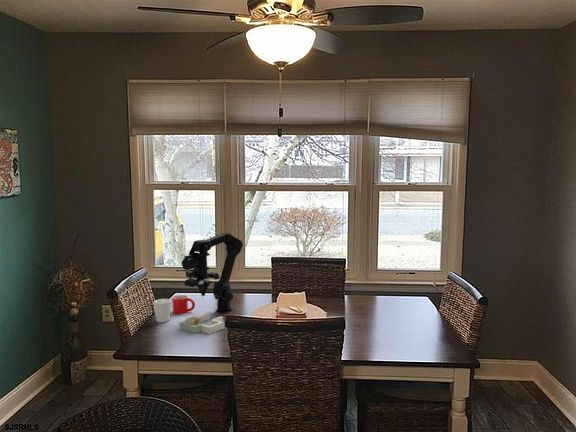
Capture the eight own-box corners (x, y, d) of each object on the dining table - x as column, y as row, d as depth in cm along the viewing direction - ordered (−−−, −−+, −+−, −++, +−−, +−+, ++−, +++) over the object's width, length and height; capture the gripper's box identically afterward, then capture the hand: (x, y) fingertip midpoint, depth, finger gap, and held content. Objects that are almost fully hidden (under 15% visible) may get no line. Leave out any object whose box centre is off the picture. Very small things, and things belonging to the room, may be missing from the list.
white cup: (166, 323, 244) (165, 303, 243) (152, 322, 246) (151, 303, 244) (173, 318, 252) (172, 299, 250) (159, 317, 253) (158, 298, 252)
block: (194, 325, 240) (194, 316, 239) (201, 328, 236) (201, 318, 236) (186, 328, 236) (186, 318, 235) (193, 331, 233) (192, 320, 232)
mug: (193, 314, 257) (192, 299, 256) (171, 314, 258) (170, 299, 257) (197, 309, 265) (196, 295, 264) (175, 309, 266) (174, 295, 265)
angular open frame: (207, 318, 250) (207, 312, 250) (231, 325, 239) (231, 319, 238) (179, 328, 237) (179, 322, 236) (203, 336, 225) (203, 329, 225)
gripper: (203, 260, 258) (205, 288, 261) (176, 267, 244) (178, 298, 246) (219, 262, 252) (220, 292, 254) (191, 270, 237) (193, 301, 239)
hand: (203, 295), depth 248 cm, fingers closed
